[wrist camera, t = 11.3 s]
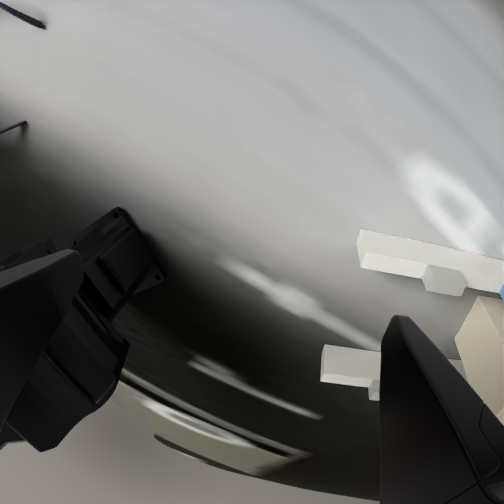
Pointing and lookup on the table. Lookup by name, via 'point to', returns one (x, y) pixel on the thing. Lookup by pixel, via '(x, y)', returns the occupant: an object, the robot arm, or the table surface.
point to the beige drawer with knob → (484, 351)
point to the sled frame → (435, 280)
